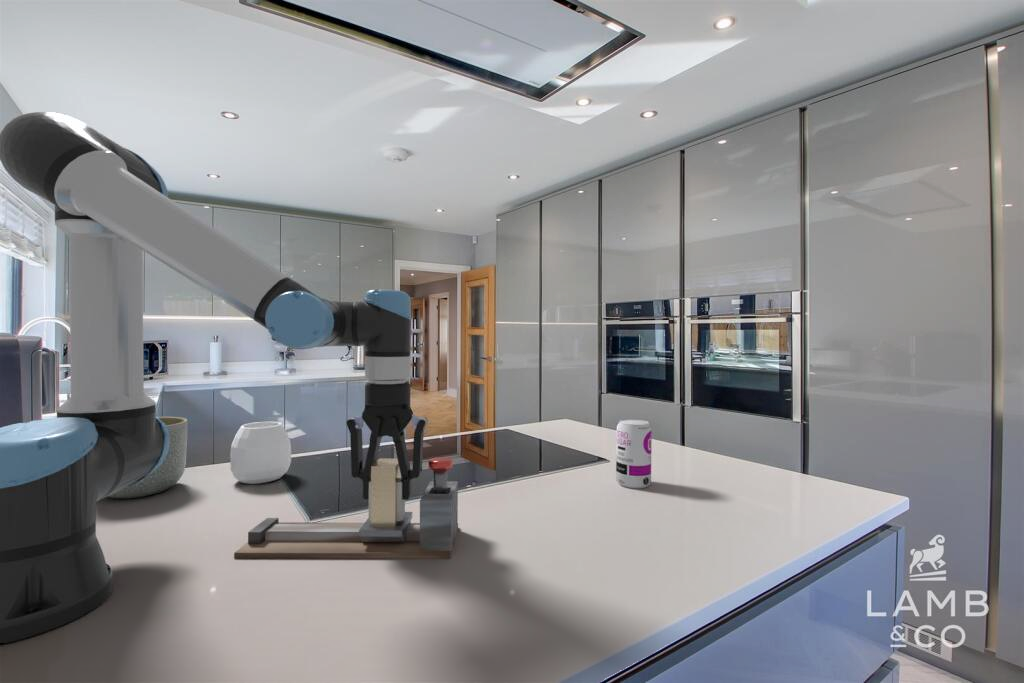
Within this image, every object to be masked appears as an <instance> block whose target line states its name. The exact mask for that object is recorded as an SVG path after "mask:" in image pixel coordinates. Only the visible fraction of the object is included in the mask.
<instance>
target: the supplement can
mask: <svg viewBox="0 0 1024 683" xmlns="http://www.w3.org/2000/svg"><path fill="white" fill-rule="evenodd" d="M652 430H653V429H652V427H651V426H650V423H649V421H647V420H642V419H631V418H630V419H629V418H628V419H620V420H618V423H617V425H616V439H615V440H616V441H615V442H616V445H615V447H616V450H615V451H616V452H615V454H616V455H615V456H616V458H615V459H616V460H615V461H616V462H615V463H616V465H615V466H616V467H615V481H616V482H617V483H618V485H620V486H622V487H624V488H628V489H639V490H640V489H645V488H648V487H649V485H651V483H652V434H653V433H652Z"/></svg>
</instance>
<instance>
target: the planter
mask: <svg viewBox="0 0 1024 683" xmlns="http://www.w3.org/2000/svg"><path fill="white" fill-rule="evenodd" d="M158 417H159V418H160V420H161V422H163V423H165V425H166V426H167V428H168V431H169V435H170V446H169V450H168V453H167V455H166V457H165V459H164V461H163V462H162V464H161V465H160V466H159V467H158V468H157V469H156V470H155V471H154V472H152V473H151V474H150V475H148V476H147V477H146V478H144V479H143V480H142V481H140V482H138V483H137V484H135V485H133V486H130V487H127V488H124V489H122V490H120V491H118V492H116V493H114V494H111V495H109V496H108V497H110V498H113V499H135V498H142V497H147V496H152V495H156V494H159V493H162V492H165V491H167V490H169V489H170V488H172V487H173V486H175V485H176V484H177V483H178V482H179V481H180V480H181V479H182V477H183V475H184V474H185V469H186V465H187V464H186V463H187V448H188V446H187V444H188V424H189V423H188V419H187V418H186V417H185V418H184V417H180V416H178V417H177V416H158Z"/></svg>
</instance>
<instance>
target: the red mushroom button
mask: <svg viewBox="0 0 1024 683" xmlns="http://www.w3.org/2000/svg"><path fill="white" fill-rule="evenodd" d="M427 462H428V464H427V465H428V470H431V471H432V481H433V494H447V482H448V471H449V470H451V469H452V468H453V459H452V458H450V457H446V456H443V457H441V456H440V457H439V456H438V457H432V458H430V459H428V461H427Z"/></svg>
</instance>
